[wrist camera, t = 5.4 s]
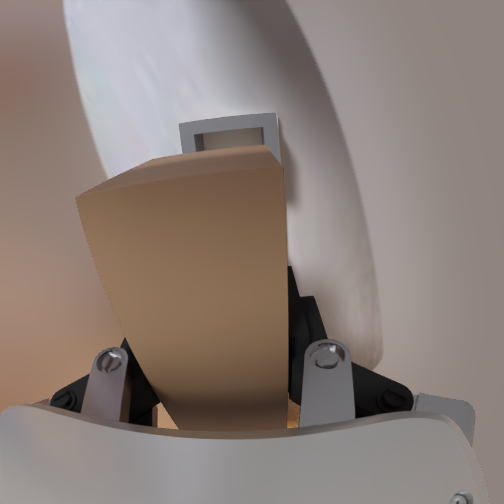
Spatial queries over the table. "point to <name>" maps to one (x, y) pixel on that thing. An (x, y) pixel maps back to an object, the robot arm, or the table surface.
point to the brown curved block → (200, 282)
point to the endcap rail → (231, 133)
